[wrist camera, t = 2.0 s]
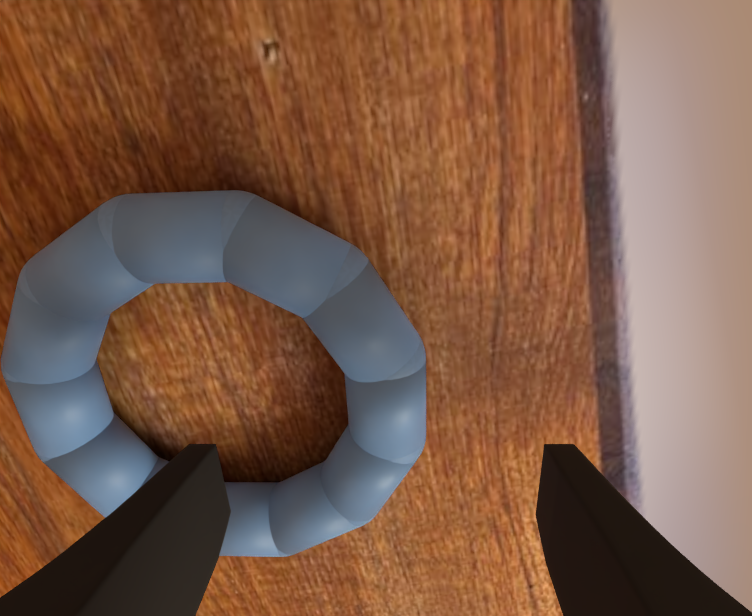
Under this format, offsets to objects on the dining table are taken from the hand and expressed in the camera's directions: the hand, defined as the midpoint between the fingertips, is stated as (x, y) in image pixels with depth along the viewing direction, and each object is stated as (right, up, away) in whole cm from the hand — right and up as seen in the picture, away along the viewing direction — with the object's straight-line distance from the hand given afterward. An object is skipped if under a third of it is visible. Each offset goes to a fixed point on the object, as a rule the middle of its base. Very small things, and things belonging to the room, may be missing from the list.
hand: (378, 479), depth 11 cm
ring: (-4, +1, +3) cm, 6 cm away
